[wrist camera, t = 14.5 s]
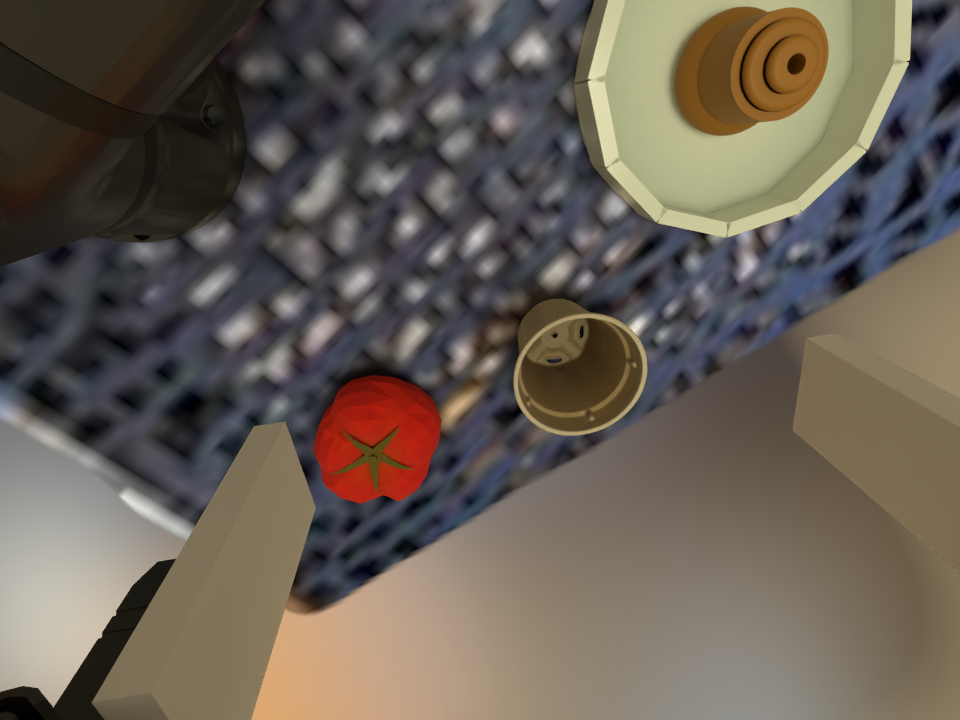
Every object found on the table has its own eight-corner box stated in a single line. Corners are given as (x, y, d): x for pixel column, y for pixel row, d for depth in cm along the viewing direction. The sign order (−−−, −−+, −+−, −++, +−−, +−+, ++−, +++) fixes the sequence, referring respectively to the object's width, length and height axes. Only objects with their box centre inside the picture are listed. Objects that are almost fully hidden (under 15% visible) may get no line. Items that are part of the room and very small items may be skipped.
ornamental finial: (747, -18, 33) (793, 86, 36) (649, 65, 35) (699, 158, 37) (835, -57, 26) (883, 77, 29) (705, 49, 27) (763, 166, 30)
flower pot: (585, 257, 41) (620, 289, 33) (624, 352, 45) (665, 401, 37) (480, 310, 42) (490, 353, 34) (527, 398, 46) (546, 455, 38)
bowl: (515, 88, 35) (526, 83, 31) (748, -198, 30) (797, -249, 26) (691, 273, 42) (719, 289, 38) (907, 65, 37) (966, 58, 33)
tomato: (451, 380, 45) (454, 420, 39) (417, 479, 49) (415, 529, 43) (338, 351, 43) (323, 388, 37) (313, 457, 47) (295, 506, 41)
